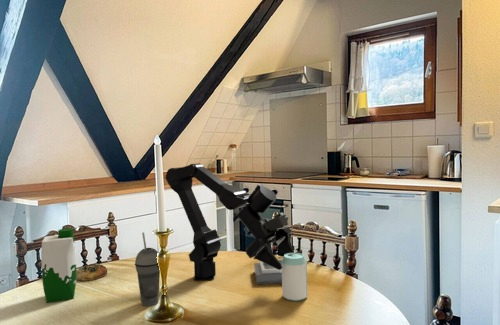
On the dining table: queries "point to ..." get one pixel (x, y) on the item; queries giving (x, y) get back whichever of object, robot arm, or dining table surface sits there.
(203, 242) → the robot arm
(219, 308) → the dining table surface
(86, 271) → the bread roll
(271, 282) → the grey rectangular tray
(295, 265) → the can
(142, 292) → the beverage cup
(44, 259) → the milk carton
